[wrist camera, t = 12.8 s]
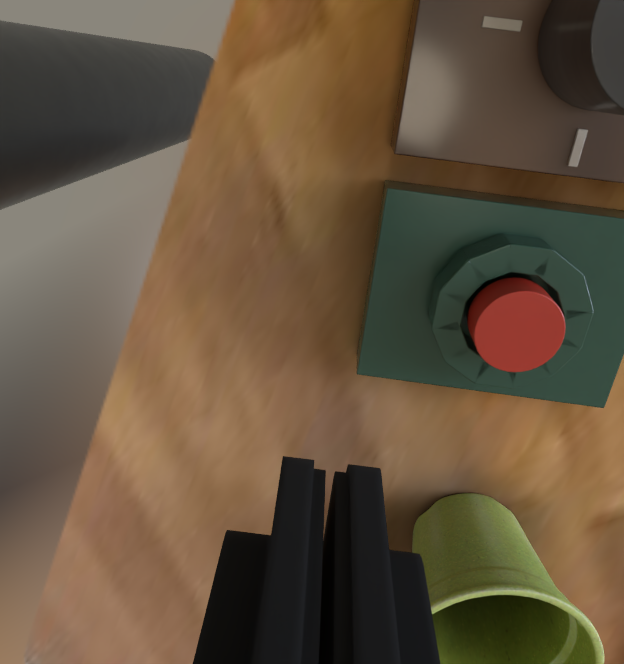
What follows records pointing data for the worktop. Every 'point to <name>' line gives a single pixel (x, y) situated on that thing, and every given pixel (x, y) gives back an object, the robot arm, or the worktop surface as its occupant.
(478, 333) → the button
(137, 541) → the worktop surface
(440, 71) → the dial panel
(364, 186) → the worktop surface
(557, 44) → the dial
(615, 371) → the button box
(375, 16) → the worktop surface
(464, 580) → the plant pot
